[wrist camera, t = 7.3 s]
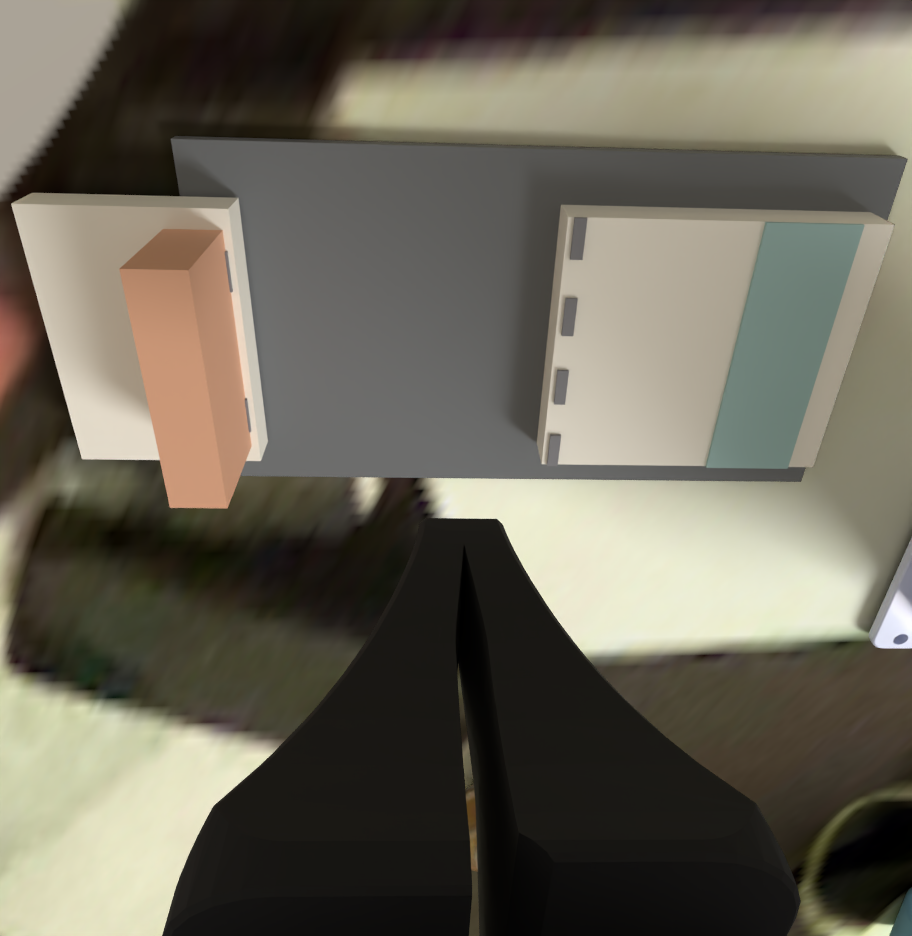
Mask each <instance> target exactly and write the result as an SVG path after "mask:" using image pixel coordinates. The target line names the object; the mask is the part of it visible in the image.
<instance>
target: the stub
mask: <svg viewBox="0 0 912 936" xmlns="http://www.w3.org/2000/svg"><path fill="white" fill-rule="evenodd" d="M11 205H12V209H13V212H14V216H15V220H16V223H17V227H18V230H19V234H20V238H21V241H22V245H23V248H24V252H25V256H26V259H27V263H28V266H29V270H30V274H31V277H32V281H33V284H34V288H35V291H36V295H37V299H38V302H39V306H40V309H41V313H42V317H43V320H44V324H45V327H46V331H47V335H48V338H49V342H50V345H51V349H52V353H53V356H54V360H55V363H56V367H57V370H58V374H59V378H60V381H61V385H62V388H63V392H64V396H65V399H66V403H67V406H68V410H69V414H70V417H71V421H72V424H73V428H74V432H75V435H76V439H77V442H78V446H79V449H80V453H81V457H82V459H116V460H160V462H161V467H162V472H163V477H164V481H165V486H166V491H167V495H168V500H169V505H170V508H228V505H229V503H230V500H231V498H232V495H233V493H234V490H235V488H236V485H237V482H238V480H239V477H240V475H241V472H242V470H243V467H244V464H245V462H246V461H261V459H262V457H263V454H264V451H265V448H266V445H267V443H268V438H267V430H266V421H265V413H264V405H263V397H262V388H261V380H260V372H259V364H258V355H257V347H256V339H255V330H254V322H253V314H252V306H251V297H250V289H249V281H248V273H247V264H246V256H245V248H244V239H243V231H242V223H241V215H240V206H239V198H228V197H187V196H146V195H105V194H64V193H31V194H29V195H27V196H25V197H23V198H21V199H19V200H17V201H15V202H13V203H11Z"/></svg>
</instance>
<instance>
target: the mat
mask: <svg viewBox="0 0 912 936" xmlns="http://www.w3.org/2000/svg"><path fill="white" fill-rule="evenodd" d="M171 144H172V150H173V156H174V162H175V169H176V175H177V181H178V187H179V193H180V196H187V197H228V198H239V206H240V215H241V223H242V231H243V239H244V248H245V256H246V264H247V273H248V281H249V289H250V297H251V306H252V314H253V322H254V330H255V339H256V347H257V355H258V364H259V372H260V380H261V388H262V397H263V405H264V413H265V421H266V430H267V438H268V443H267V445H266V448H265V451H264V454H263V457H262V459H261V461H246V462H245V464H244V467H243V470H242V472H241V475H240V476H304V477H400V478H496V479H593V480H689V481H786V482H801V480H802V477H803V474H804V471H805V468H806V467H788V469H761V468H706V466H656V465H566V464H558V466H547V464H541V459H540V455H539V451H538V446H537V436H538V426H539V416H540V406H541V396H542V386H543V377H544V367H545V357H546V347H547V337H548V327H549V317H550V308H551V298H552V288H553V278H554V268H555V258H556V249H557V239H558V229H559V219H560V209H561V205H597V206H638V207H679V208H720V209H761V210H802V211H843V212H871V213H873V214H875V215H877V216H879V217H881V218H883V219H885V220H888V217H889V214H890V211H891V208H892V205H893V202H894V199H895V196H896V193H897V190H898V187H899V184H900V181H901V177H902V174H903V171H904V168H905V165H906V162H907V158H904V157H901V156H889V155H852V154H816V153H779V152H743V151H706V150H669V149H633V148H596V147H560V146H523V145H487V144H450V143H413V142H377V141H340V140H304V139H267V138H231V137H194V136H175V137H173V138H171Z"/></svg>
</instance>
